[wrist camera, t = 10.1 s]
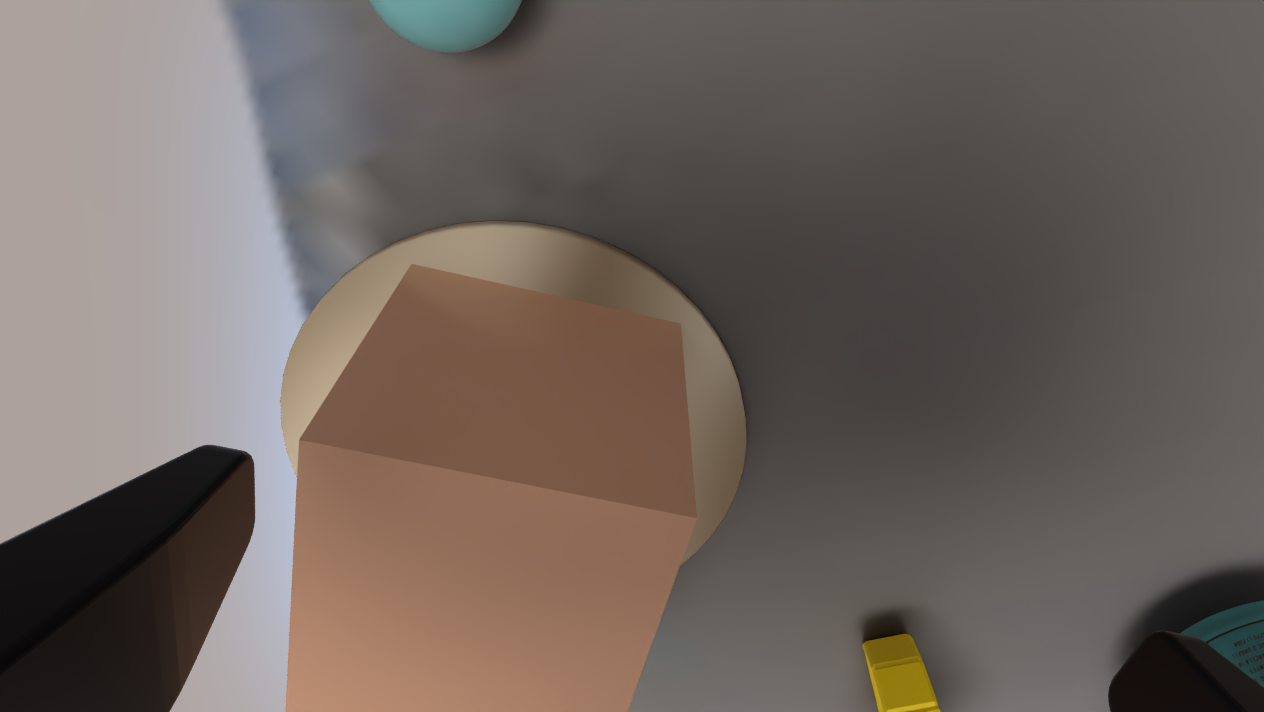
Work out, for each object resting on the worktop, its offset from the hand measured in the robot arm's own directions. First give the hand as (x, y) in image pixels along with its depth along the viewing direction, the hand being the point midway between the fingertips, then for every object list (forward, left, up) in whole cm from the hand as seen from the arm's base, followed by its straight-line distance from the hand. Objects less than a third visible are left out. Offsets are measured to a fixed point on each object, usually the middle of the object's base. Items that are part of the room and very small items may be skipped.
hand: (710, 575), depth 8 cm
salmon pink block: (+2, +7, -11) cm, 14 cm away
